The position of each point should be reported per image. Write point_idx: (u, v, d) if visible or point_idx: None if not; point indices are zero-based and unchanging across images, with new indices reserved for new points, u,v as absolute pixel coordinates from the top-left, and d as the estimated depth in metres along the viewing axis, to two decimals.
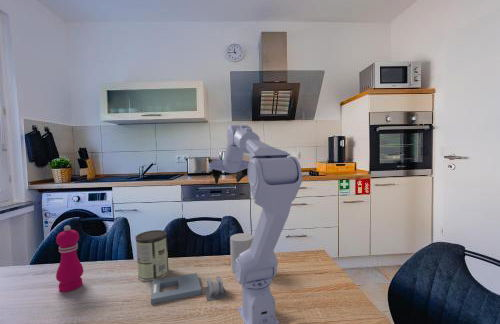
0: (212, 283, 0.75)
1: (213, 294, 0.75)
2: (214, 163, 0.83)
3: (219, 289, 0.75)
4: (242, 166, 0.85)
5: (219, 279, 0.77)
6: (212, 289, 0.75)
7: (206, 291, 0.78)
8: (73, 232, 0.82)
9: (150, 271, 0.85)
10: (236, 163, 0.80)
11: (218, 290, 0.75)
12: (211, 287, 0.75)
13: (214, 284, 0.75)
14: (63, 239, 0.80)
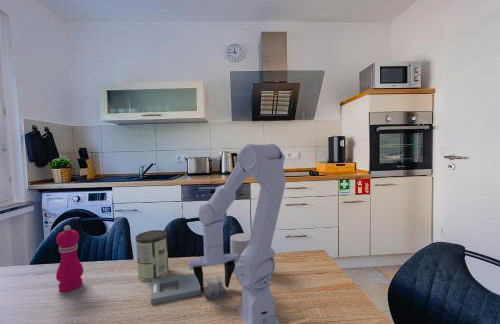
0: (212, 283, 0.75)
1: (213, 294, 0.75)
2: (195, 260, 0.76)
3: (219, 289, 0.75)
4: (226, 258, 0.77)
5: (219, 279, 0.77)
6: (212, 289, 0.75)
7: (206, 291, 0.78)
8: (73, 232, 0.82)
9: (150, 271, 0.85)
10: (216, 248, 0.74)
11: (218, 290, 0.75)
12: (211, 287, 0.75)
13: (214, 284, 0.75)
14: (63, 239, 0.80)
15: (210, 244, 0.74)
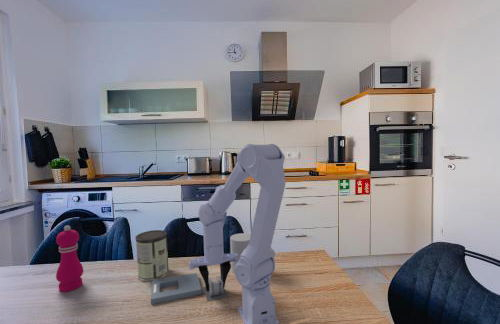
0: (212, 283, 0.75)
1: (213, 294, 0.75)
2: (195, 260, 0.76)
3: (219, 289, 0.75)
4: (227, 258, 0.77)
5: (219, 279, 0.77)
6: (212, 289, 0.75)
7: (206, 291, 0.78)
8: (73, 232, 0.82)
9: (150, 271, 0.85)
10: (216, 248, 0.74)
11: (218, 290, 0.75)
12: (211, 287, 0.74)
13: (215, 284, 0.75)
14: (63, 239, 0.80)
15: (210, 244, 0.74)
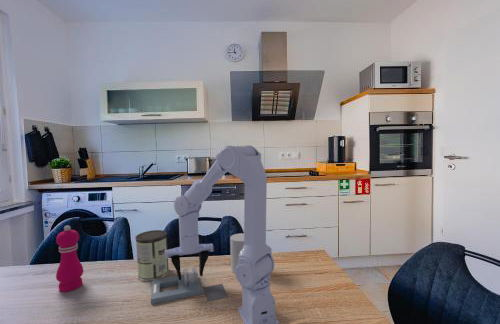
0: (187, 273, 0.79)
1: (188, 284, 0.78)
2: None
3: (194, 279, 0.79)
4: (202, 248, 0.81)
5: (194, 270, 0.81)
6: (187, 279, 0.78)
7: (206, 291, 0.78)
8: (73, 232, 0.82)
9: (150, 271, 0.85)
10: (191, 238, 0.77)
11: (193, 280, 0.79)
12: (186, 277, 0.78)
13: (189, 274, 0.78)
14: (63, 239, 0.80)
15: (186, 234, 0.77)
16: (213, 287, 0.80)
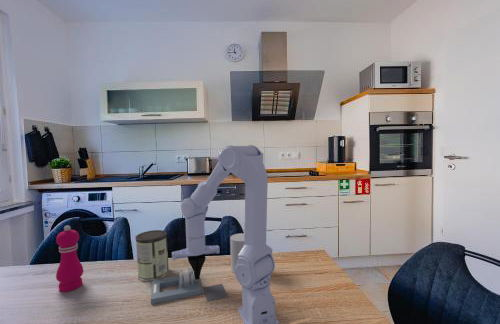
0: (182, 274, 0.78)
1: (183, 284, 0.78)
2: (178, 252, 0.80)
3: (189, 280, 0.79)
4: (208, 250, 0.81)
5: (190, 270, 0.80)
6: (182, 280, 0.78)
7: (206, 291, 0.78)
8: (73, 232, 0.82)
9: (150, 271, 0.85)
10: (198, 239, 0.78)
11: (188, 281, 0.78)
12: (181, 278, 0.78)
13: (185, 275, 0.78)
14: (63, 239, 0.80)
15: (192, 236, 0.78)
16: (213, 287, 0.80)
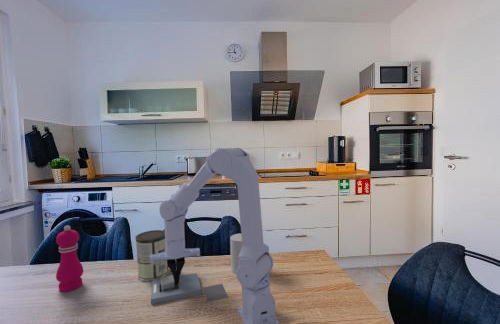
0: None
1: None
2: None
3: (168, 285, 0.77)
4: (188, 253, 0.79)
5: None
6: None
7: (206, 291, 0.78)
8: (73, 232, 0.82)
9: (150, 271, 0.85)
10: (176, 242, 0.76)
11: (169, 286, 0.77)
12: None
13: (163, 291, 0.76)
14: (63, 239, 0.80)
15: (172, 238, 0.76)
16: (213, 287, 0.80)
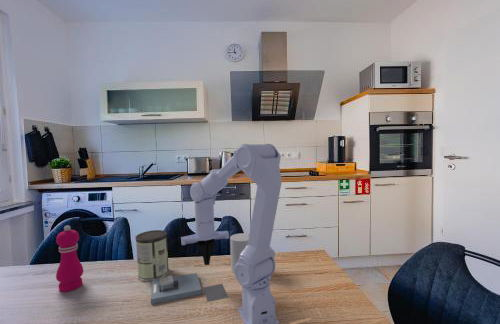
0: None
1: None
2: None
3: (167, 285, 0.77)
4: (217, 235, 0.81)
5: (160, 282, 0.78)
6: None
7: (206, 291, 0.78)
8: (73, 232, 0.82)
9: (150, 271, 0.85)
10: (207, 224, 0.77)
11: (168, 286, 0.77)
12: None
13: (162, 291, 0.76)
14: (63, 239, 0.80)
15: (201, 220, 0.77)
16: (213, 287, 0.80)
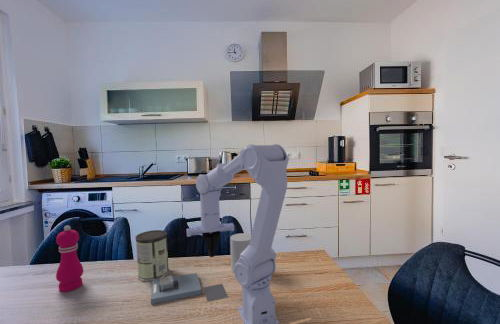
0: None
1: None
2: (192, 229, 0.79)
3: (167, 285, 0.77)
4: (223, 227, 0.81)
5: (160, 282, 0.78)
6: None
7: (206, 291, 0.78)
8: (73, 232, 0.82)
9: (150, 271, 0.85)
10: (213, 216, 0.77)
11: (168, 286, 0.77)
12: None
13: (162, 291, 0.76)
14: (63, 239, 0.80)
15: (206, 212, 0.77)
16: (213, 287, 0.80)
